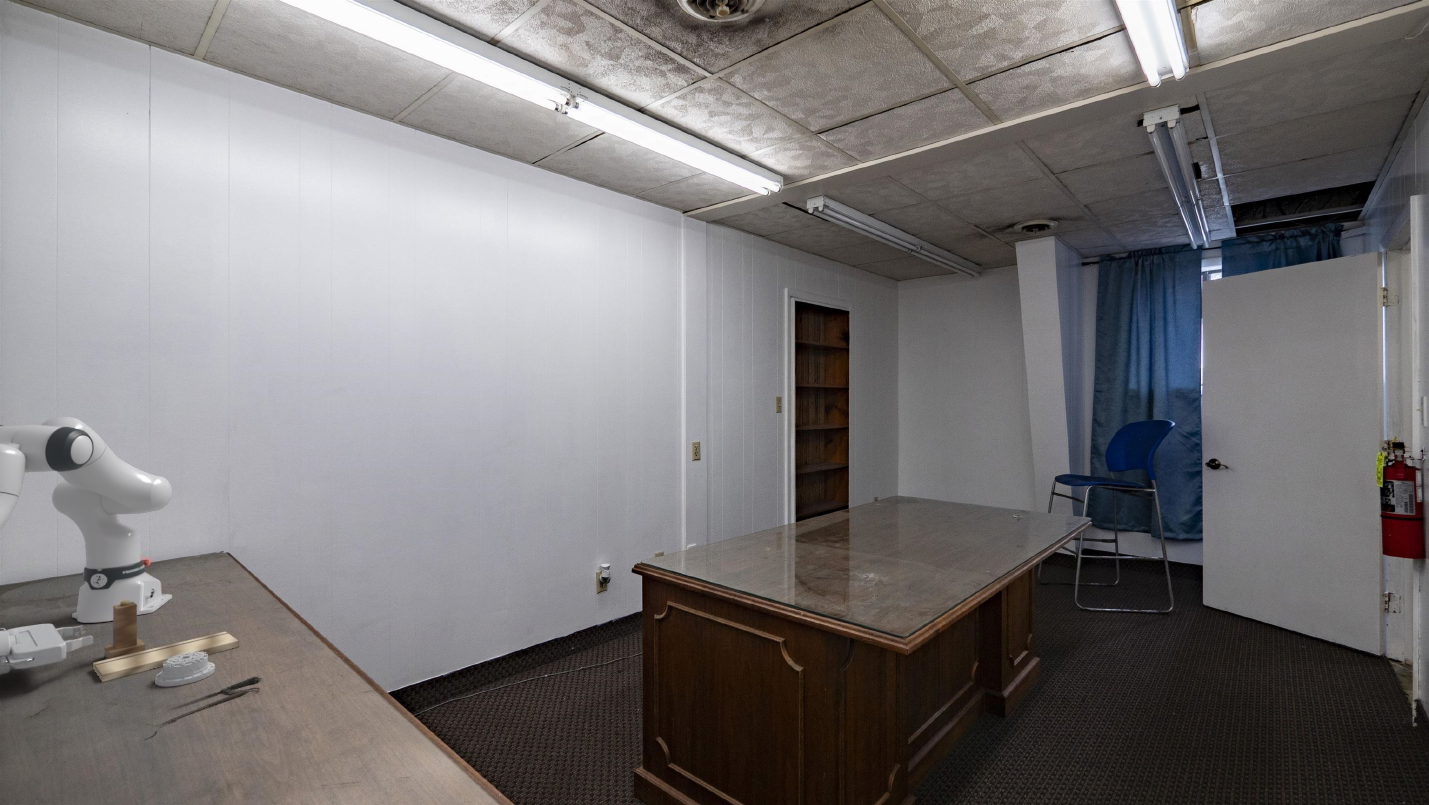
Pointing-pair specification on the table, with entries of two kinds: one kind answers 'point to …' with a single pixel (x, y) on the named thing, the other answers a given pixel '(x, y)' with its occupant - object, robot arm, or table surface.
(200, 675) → the mechanical component
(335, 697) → the table surface
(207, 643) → the plank
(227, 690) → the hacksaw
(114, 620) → the wooden peg post
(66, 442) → the robot arm
